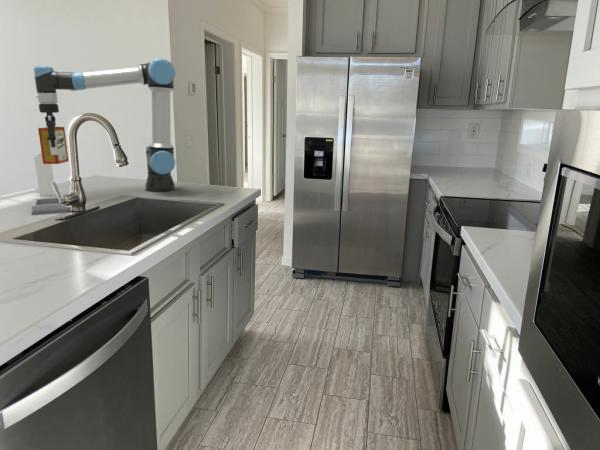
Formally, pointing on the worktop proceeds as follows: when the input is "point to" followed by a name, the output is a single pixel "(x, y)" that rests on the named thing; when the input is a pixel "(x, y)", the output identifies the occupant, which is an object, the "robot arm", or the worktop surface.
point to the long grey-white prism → (44, 176)
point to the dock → (48, 206)
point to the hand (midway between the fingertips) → (54, 153)
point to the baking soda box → (61, 146)
